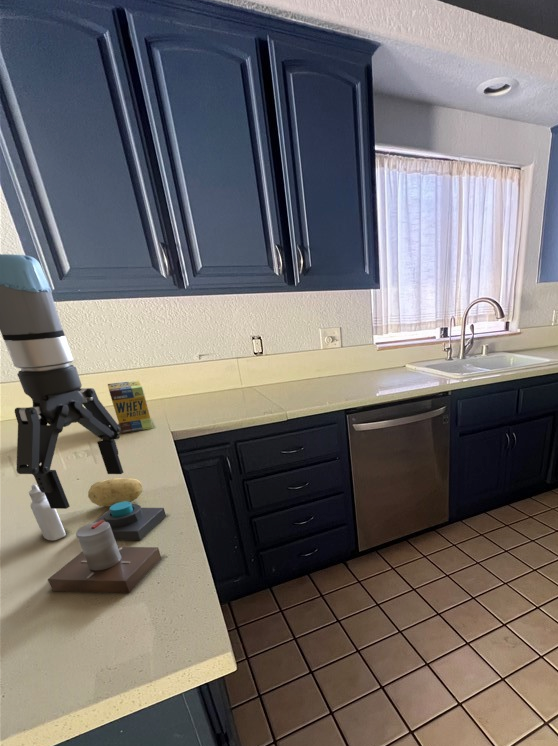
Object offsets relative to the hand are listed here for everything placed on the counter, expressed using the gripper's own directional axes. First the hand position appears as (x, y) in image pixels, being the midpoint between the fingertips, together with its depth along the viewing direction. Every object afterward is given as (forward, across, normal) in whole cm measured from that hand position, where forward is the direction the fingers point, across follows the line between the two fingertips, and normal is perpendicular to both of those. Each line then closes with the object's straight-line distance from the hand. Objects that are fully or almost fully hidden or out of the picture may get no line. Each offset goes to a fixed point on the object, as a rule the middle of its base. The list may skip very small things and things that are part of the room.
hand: (90, 489), depth 75 cm
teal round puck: (+11, -11, -5) cm, 17 cm away
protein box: (+15, -84, -51) cm, 99 cm away
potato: (+15, -22, -14) cm, 31 cm away
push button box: (+15, -11, -5) cm, 19 cm away
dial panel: (+15, +4, +2) cm, 16 cm away
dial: (+12, +4, +2) cm, 13 cm away
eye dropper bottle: (+15, -8, -19) cm, 26 cm away
